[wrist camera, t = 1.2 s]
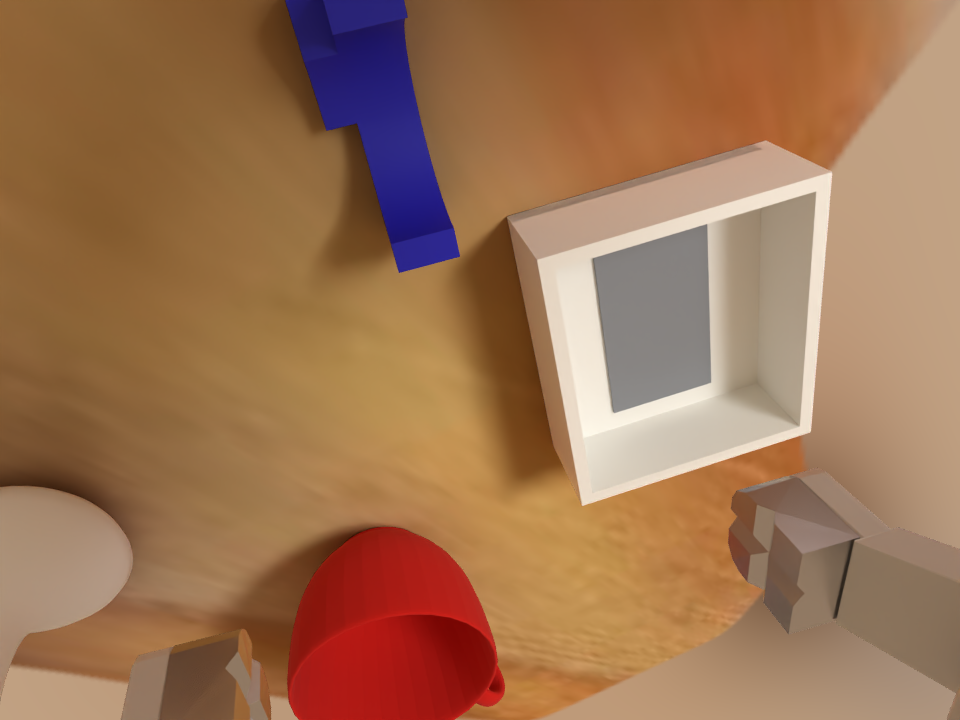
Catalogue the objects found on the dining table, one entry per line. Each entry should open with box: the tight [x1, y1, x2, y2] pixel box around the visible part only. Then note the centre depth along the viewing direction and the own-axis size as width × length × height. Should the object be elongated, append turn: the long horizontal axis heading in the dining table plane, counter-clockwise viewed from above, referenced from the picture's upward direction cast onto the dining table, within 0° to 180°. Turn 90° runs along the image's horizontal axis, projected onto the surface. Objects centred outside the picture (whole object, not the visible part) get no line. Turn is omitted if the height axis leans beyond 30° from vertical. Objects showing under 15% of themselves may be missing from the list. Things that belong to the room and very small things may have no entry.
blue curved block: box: [285, 0, 460, 273], centre depth 32 cm, size 12×4×6 cm, turn 10°
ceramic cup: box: [287, 527, 505, 720], centre depth 48 cm, size 13×17×10 cm
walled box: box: [507, 141, 832, 506], centre depth 42 cm, size 16×18×6 cm
